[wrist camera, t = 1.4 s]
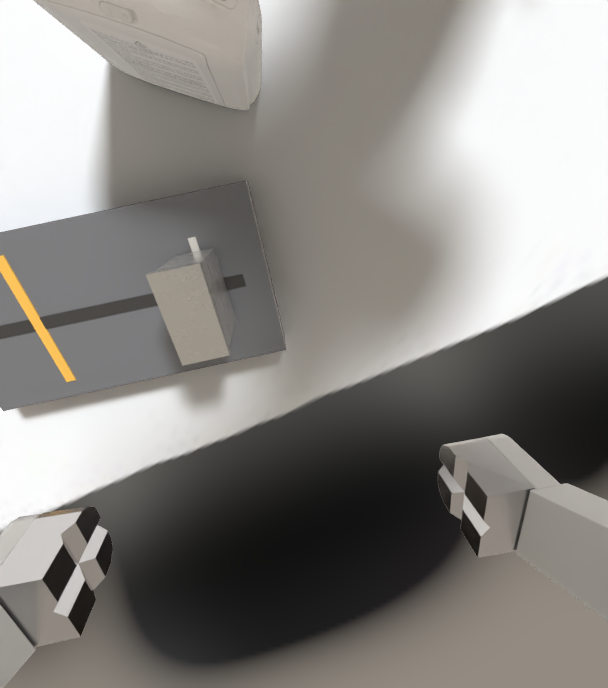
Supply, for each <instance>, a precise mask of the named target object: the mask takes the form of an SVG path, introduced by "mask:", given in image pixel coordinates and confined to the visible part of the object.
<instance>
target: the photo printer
mask: <svg viewBox="0 0 608 688" xmlns="http://www.w3.org/2000/svg"><path fill="white" fill-rule="evenodd" d="M34 1H35V2H36V3H37V4H38V5H40V6H41V7H42V8H43V9H45V10H46V11H47V12H48V13H49V14H51V15H52V16H53V17H54V18H56V19H57V20H58V21H59V22H61V23H62V24H63V25H64V26H66V27H67V28H68V29H69V30H70V31H72V32H73V33H74V34H75V35H76V36H78V37H79V38H80V39H81V40H82V41H84V42H85V43H86V44H87V45H89V46H90V47H91V48H92V49H93V50H95V51H96V52H97V53H98V54H99V55H101V56H102V57H103V58H104V59H105V60H106V61H108V62H109V63H110V64H111V65H113V66H114V67H116V68H118V69H119V70H121V71H123V72H125V73H127V74H129V75H131V76H133V77H136V78H138V79H141V80H144V81H146V82H149V83H152V84H154V85H158V86H161V87H164V88H167V89H169V90H172V91H175V92H179V93H182V94H185V95H188V96H191V97H194V98H198V99H200V100H204V101H207V102H210V103H214V104H217V105H221V106H225V107H228V108H232V109H238V110H249V109H250V104H252V103H253V102H254V101H255V99H256V98H257V96H258V94H259V91H260V88H261V79H262V19H261V10H260V5H259V1H258V0H34Z"/></svg>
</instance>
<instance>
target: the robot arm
mask: <svg viewBox="0 0 608 688" xmlns="http://www.w3.org/2000/svg"><path fill="white" fill-rule="evenodd" d="M439 458H440V460H441V461H442V463H443V464H444V465H443V467H442V468H441V469H440V470H439V472H438V486H439V490H440V494H441V497H442V499H443V501H444V504H445V505H446V507H447V509H448V510H449V512H450V513H451V514H453V515H455V516H456V517H458V518H459V519H461V531H462V533H463V535H464V536H465V538H466V539H467V541H468V543H469V544H470V546H471V547H472V549H473V551H474V552H475V554H476V555H477V557H485V556H490V555H497V554H503V553H509V552H515V551H516V554H517V555H518V556H520V557H521V558H522V559H524V560H525V561H527V562H528V563H529V564H531V565H532V566H533V567H535V568H536V569H537V570H539V571H540V572H541V573H543V574H544V575H546V576H547V577H548V578H550V579H551V580H552V581H554V582H555V583H556V584H558V585H559V586H560V587H562V588H563V589H564V590H566V591H567V592H568V593H570V594H571V595H573V596H574V597H575V598H577V599H578V600H579V601H581V602H582V603H583V604H585V605H586V606H588V607H589V608H590V609H592V610H593V611H594V612H596V613H597V614H598V615H600V616H601V617H603V618H604V619H605V620H607V621H608V501H607V500H605V499H602V498H600V497H598V496H595V495H593V494H591V493H588V492H586V491H584V490H582V489H579V488H577V487H575V486H572V485H570V484H560V483H559V482H557V481H556V480H555V479H554V478H553V477H552V476H551V475H550V474H549V473H548V472H547V471H545V470H544V469H543V468H542V467H541V466H540V465H539V464H538V463H537V462H536V461H535V460H534V459H533V458H531V457H530V456H529V455H528V454H527V453H526V452H525V451H524V450H523V449H522V448H521V447H519V445H517V444H516V443H515V442H514V441H513V440H512V439H511V438H510V437H508V436H507V435H504V434H499V435H494V436H488V437H483V438H478V439H473V440H467V441H462V442H456V443H451V444H445V445H442V447H441V449H440V455H439ZM100 518H101V517H100V515H99V513H98V511H97V509H96V508H95V507H90V506H87V507H81V508H75V509H67V510H61V511H53V512H47V513H43V514H36V515H29V516H23V517H19V518H17V519H16V520H14V521H12V522H11V523H10V524H9V525H8V526H7V528H6V529H5V530H4V531H3V533H2V534H1V535H0V688H4V686H5V685H6V684H7V683H8V682H9V680H10V679H11V678H12V677H13V676H14V675H15V673H16V672H17V671H18V670H19V669H20V667H21V666H22V665H23V664H24V663H25V661H27V659H28V658H29V657H30V656H31V655H32V654H33V652H34V651H35V647H38V646H42V645H46V644H51V643H55V642H59V641H64V640H68V639H72V638H77V637H80V636H81V634H82V632H83V630H84V627H85V625H86V623H87V620H88V618H89V615H90V613H91V611H92V608H93V606H94V604H95V601H96V597H95V594H94V589H95V587H97V585H98V584H99V583H100V582H101V581H102V580H103V579H104V578H105V577H106V575H107V572H108V569H109V567H110V564H111V559H112V552H113V546H112V539H111V537H110V535H109V532H108V531H107V530H105V529H104V528H102V527H100V526H98V523H99V520H100Z"/></svg>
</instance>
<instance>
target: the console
mask: <svg viewBox="0 0 608 688" xmlns="http://www.w3.org/2000/svg"><path fill="white" fill-rule="evenodd" d="M209 248H215V251H216V255H217V258H218V261H219V265H220V268H221V271H222V275H223V278H224V281H225V285H226V288H227V291H228V294H229V298H230V301H231V304H232V308H233V311H234V314H235V318H236V321H235V325H234V330H233V334H232V338H231V343H230V347H229V348H230V351H231V352H230V356H225V357H220V358H216V359H211V360H207V361H202V362H197V363H193V364H188V365H183V366H182V363H181V361H180V358H179V356H178V354H177V351H176V349H175V346H174V344H173V341H172V339H171V336H170V334H169V331H168V329H167V326H166V324H165V322H164V319H163V317H162V314H161V312H160V309H159V307H158V304H157V302H156V299H155V297H154V294H153V292H152V290H151V287H150V285H149V282H148V280H147V277H146V274H148V273H150V272H154V271H156V270H157V269H158V268H160V267H161V266H163V265H164V264H165V263H167V262H168V261H169V260H171V259H172V258H173V257H175V256H176V255H181V254H186V253H190V252H195V251H200V250H205V249H209ZM282 350H286V344H285V336H284V332H283V328H282V324H281V319H280V315H279V311H278V307H277V303H276V298H275V294H274V290H273V286H272V282H271V277H270V273H269V269H268V265H267V260H266V256H265V252H264V248H263V244H262V239H261V235H260V231H259V227H258V223H257V218H256V214H255V210H254V206H253V201H252V197H251V193H250V189H249V185H248V181H242V182H237V183H233V184H228V185H223V186H218V187H214V188H209V189H204V190H199V191H195V192H190V193H185V194H180V195H176V196H171V197H166V198H161V199H157V200H152V201H147V202H142V203H138V204H133V205H128V206H123V207H119V208H114V209H109V210H104V211H100V212H95V213H90V214H85V215H81V216H76V217H71V218H66V219H62V220H57V221H52V222H47V223H43V224H38V225H33V226H28V227H24V228H19V229H14V230H9V231H4V232H0V407H1V408H2V410H3V411H6V410H10V409H15V408H19V407H24V406H29V405H33V404H38V403H42V402H47V401H52V400H56V399H61V398H65V397H70V396H75V395H79V394H84V393H88V392H93V391H98V390H102V389H107V388H112V387H116V386H121V385H125V384H130V383H135V382H139V381H144V380H148V379H153V378H158V377H162V376H167V375H171V374H176V373H181V372H185V371H190V370H195V369H199V368H204V367H208V366H213V365H218V364H222V363H227V362H231V361H236V360H241V359H245V358H250V357H254V356H259V355H264V354H268V353H273V352H277V351H282Z"/></svg>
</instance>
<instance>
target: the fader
mask: <svg viewBox="0 0 608 688" xmlns="http://www.w3.org/2000/svg"><path fill="white" fill-rule="evenodd" d="M146 277H147V280H148V282H149V285H150V287H151V290H152V292H153V294H154V297H155V299H156V302H157V304H158V307H159V309H160V312H161V314H162V317H163V319H164V322H165V324H166V326H167V329H168V331H169V334H170V336H171V339H172V341H173V344H174V346H175V349H176V351H177V354H178V356H179V358H180V361H181V363H182V366H183V365H188V364H193V363H197V362H202V361H207V360H211V359H216V358H220V357H225V356H230V352H231V351H230V348H229V347H230V343H231V338H232V334H233V330H234V325H235V321H236V318H235V314H234V311H233V308H232V304H231V301H230V298H229V294H228V291H227V288H226V285H225V281H224V278H223V275H222V271H221V268H220V265H219V261H218V258H217V255H216V251H215V248H209V249H205V250H200V251H195V252H190V253H186V254H181V255H176V256H175V257H173V258H172V259H171V260H169V261H168V262H167V263H165V264H164V265H163V266H161V267H160V268H158V269H157V270H156V271H154V272H150V273H148V274H146Z"/></svg>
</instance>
